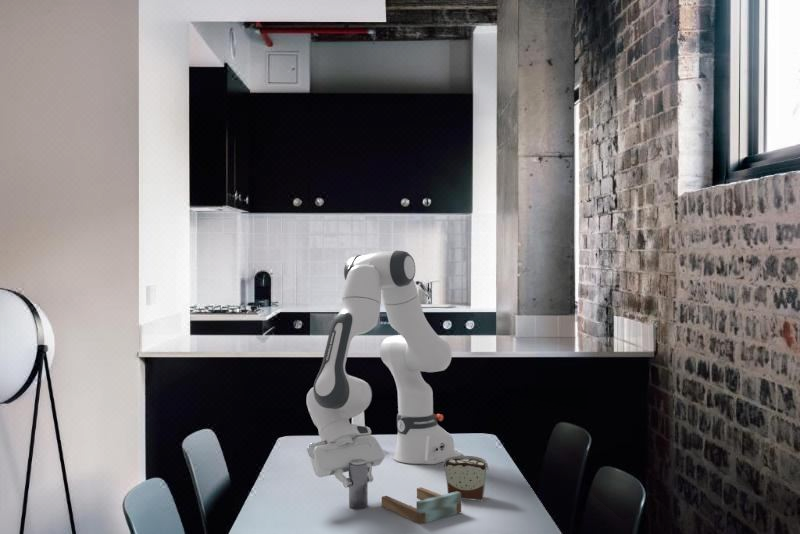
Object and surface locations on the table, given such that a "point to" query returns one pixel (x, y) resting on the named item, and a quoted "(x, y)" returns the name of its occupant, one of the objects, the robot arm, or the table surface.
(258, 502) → the table surface
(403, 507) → the keeper cradle
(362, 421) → the cosmetic bottle
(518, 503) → the table surface
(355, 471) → the drinking glass
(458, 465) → the food container
